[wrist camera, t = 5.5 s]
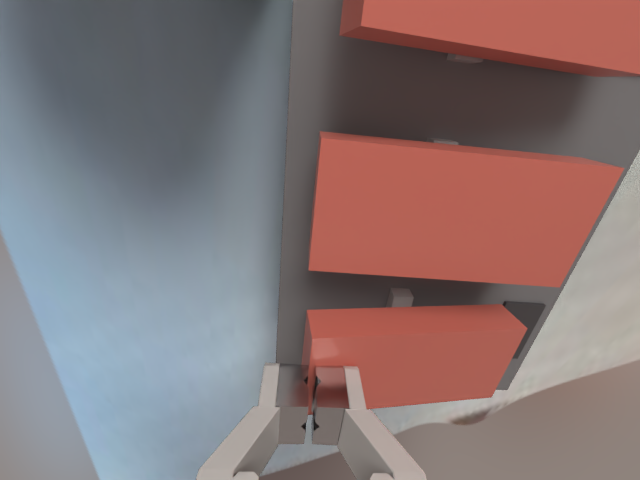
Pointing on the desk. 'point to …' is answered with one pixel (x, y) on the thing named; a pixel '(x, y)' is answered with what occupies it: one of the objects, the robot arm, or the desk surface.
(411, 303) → the rocker switch panel
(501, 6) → the block
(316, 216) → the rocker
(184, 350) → the desk surface
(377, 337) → the block
